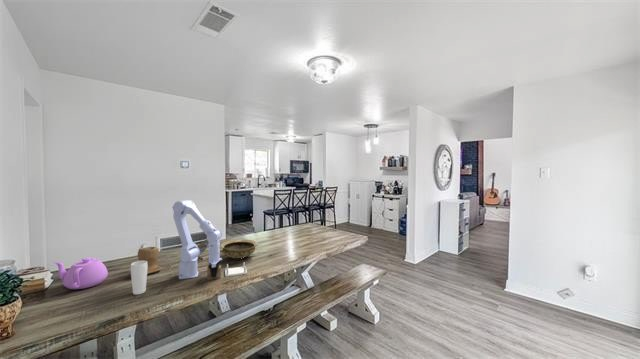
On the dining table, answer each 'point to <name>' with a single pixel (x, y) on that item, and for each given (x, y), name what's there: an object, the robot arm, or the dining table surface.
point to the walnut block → (216, 275)
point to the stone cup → (150, 258)
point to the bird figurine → (202, 247)
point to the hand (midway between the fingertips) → (214, 275)
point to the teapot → (83, 273)
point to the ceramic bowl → (238, 248)
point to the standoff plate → (235, 271)
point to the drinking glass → (139, 276)
